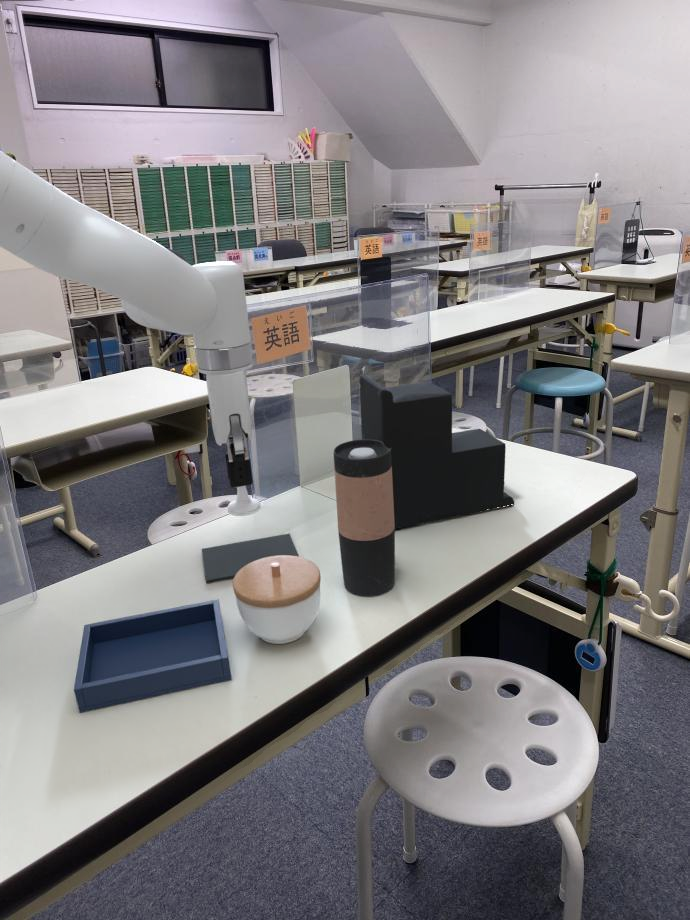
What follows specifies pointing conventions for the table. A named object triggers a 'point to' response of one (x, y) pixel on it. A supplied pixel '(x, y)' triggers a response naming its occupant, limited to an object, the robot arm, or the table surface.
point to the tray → (151, 655)
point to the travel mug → (365, 516)
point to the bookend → (432, 453)
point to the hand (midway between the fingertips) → (240, 480)
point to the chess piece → (243, 504)
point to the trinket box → (278, 597)
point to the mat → (243, 555)
